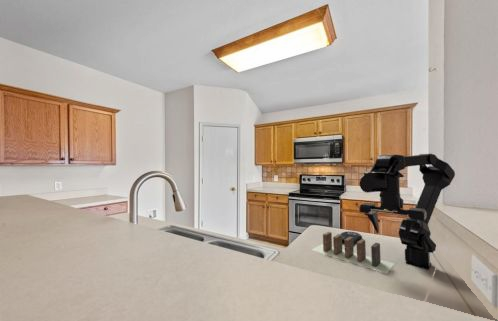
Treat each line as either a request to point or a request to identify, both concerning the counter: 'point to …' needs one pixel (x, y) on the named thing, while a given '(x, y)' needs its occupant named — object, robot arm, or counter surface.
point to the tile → (375, 254)
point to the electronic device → (351, 234)
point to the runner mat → (367, 263)
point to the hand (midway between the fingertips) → (391, 235)
